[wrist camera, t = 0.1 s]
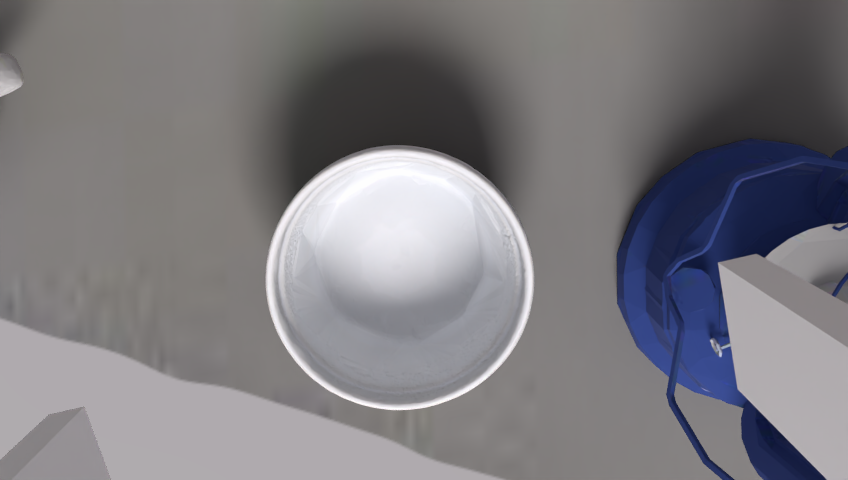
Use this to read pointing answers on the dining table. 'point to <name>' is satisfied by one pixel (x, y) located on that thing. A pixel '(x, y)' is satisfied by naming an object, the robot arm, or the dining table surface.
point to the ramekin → (399, 277)
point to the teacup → (9, 74)
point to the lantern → (720, 241)
